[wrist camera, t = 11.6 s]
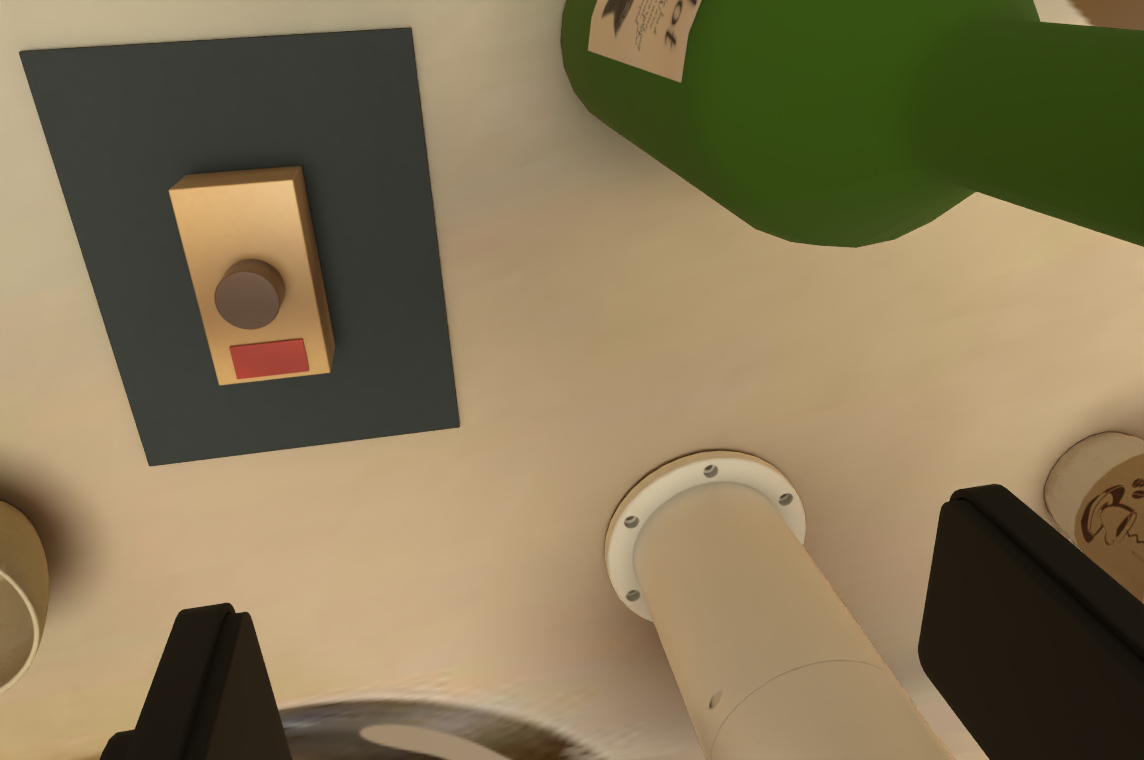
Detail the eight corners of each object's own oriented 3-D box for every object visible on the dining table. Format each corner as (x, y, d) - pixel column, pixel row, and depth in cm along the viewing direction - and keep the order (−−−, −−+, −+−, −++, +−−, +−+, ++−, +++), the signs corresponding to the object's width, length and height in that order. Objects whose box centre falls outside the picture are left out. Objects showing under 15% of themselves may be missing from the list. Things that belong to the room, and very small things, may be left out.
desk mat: (459, 424, 46) (459, 427, 45) (151, 462, 43) (149, 467, 43) (410, 27, 37) (411, 27, 36) (22, 51, 35) (17, 51, 34)
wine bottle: (618, -116, 36) (1503, -540, 7) (780, -7, 39) (1864, 18, 10) (524, 79, 39) (877, 362, 10) (682, 167, 42) (1313, 583, 13)
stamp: (187, 172, 37) (155, 199, 33) (302, 163, 38) (287, 188, 33) (233, 355, 41) (210, 403, 37) (336, 344, 42) (327, 389, 37)
